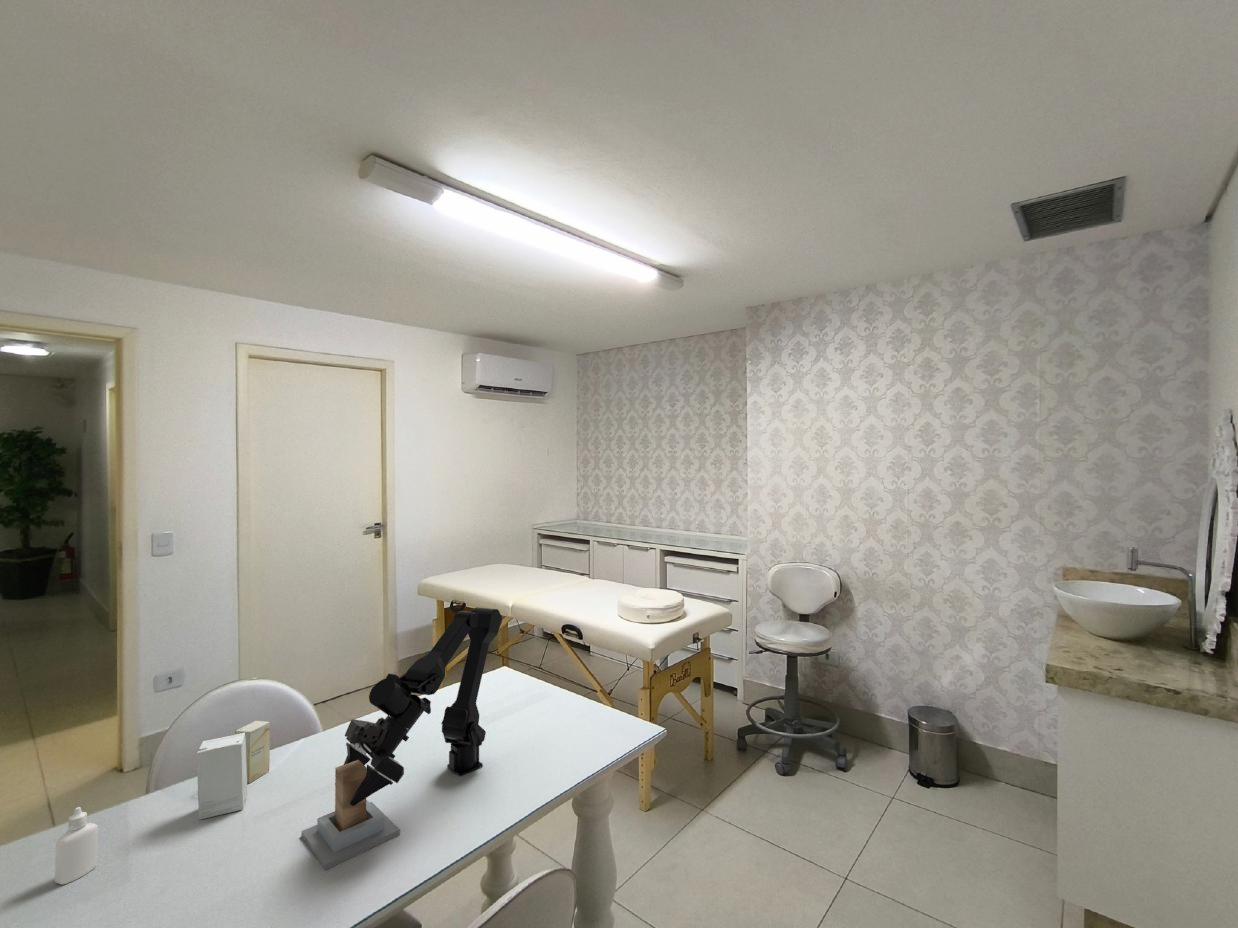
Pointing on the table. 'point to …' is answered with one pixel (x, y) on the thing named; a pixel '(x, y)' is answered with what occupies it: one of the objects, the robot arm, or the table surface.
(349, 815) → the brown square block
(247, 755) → the skincare box
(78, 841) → the eye dropper bottle
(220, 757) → the skincare box
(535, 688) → the table surface
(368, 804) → the housing
